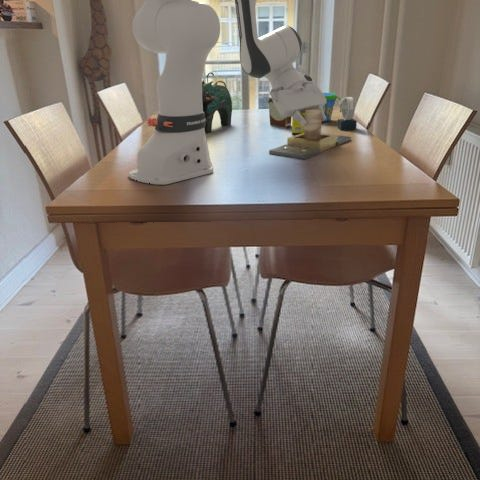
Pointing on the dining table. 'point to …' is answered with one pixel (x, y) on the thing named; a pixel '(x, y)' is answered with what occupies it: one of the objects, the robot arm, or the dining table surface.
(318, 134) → the hinge pin
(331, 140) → the hinge
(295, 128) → the supplement box
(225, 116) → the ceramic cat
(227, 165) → the dining table surface
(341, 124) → the watch
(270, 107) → the food container
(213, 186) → the dining table surface
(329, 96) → the snack cup
